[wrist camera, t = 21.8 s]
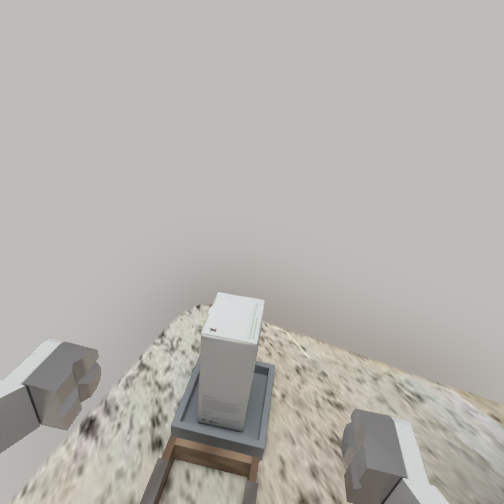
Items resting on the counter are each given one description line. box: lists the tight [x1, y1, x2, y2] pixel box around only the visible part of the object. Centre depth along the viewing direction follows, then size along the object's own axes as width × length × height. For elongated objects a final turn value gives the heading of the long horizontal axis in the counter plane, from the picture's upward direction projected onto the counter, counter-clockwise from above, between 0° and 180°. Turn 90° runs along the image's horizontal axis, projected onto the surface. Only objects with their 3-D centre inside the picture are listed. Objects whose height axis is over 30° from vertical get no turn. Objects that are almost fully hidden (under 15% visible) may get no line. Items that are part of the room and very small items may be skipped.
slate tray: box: [171, 356, 275, 460], centre depth 43 cm, size 12×13×2 cm
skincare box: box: [197, 292, 265, 431], centre depth 40 cm, size 8×7×16 cm
